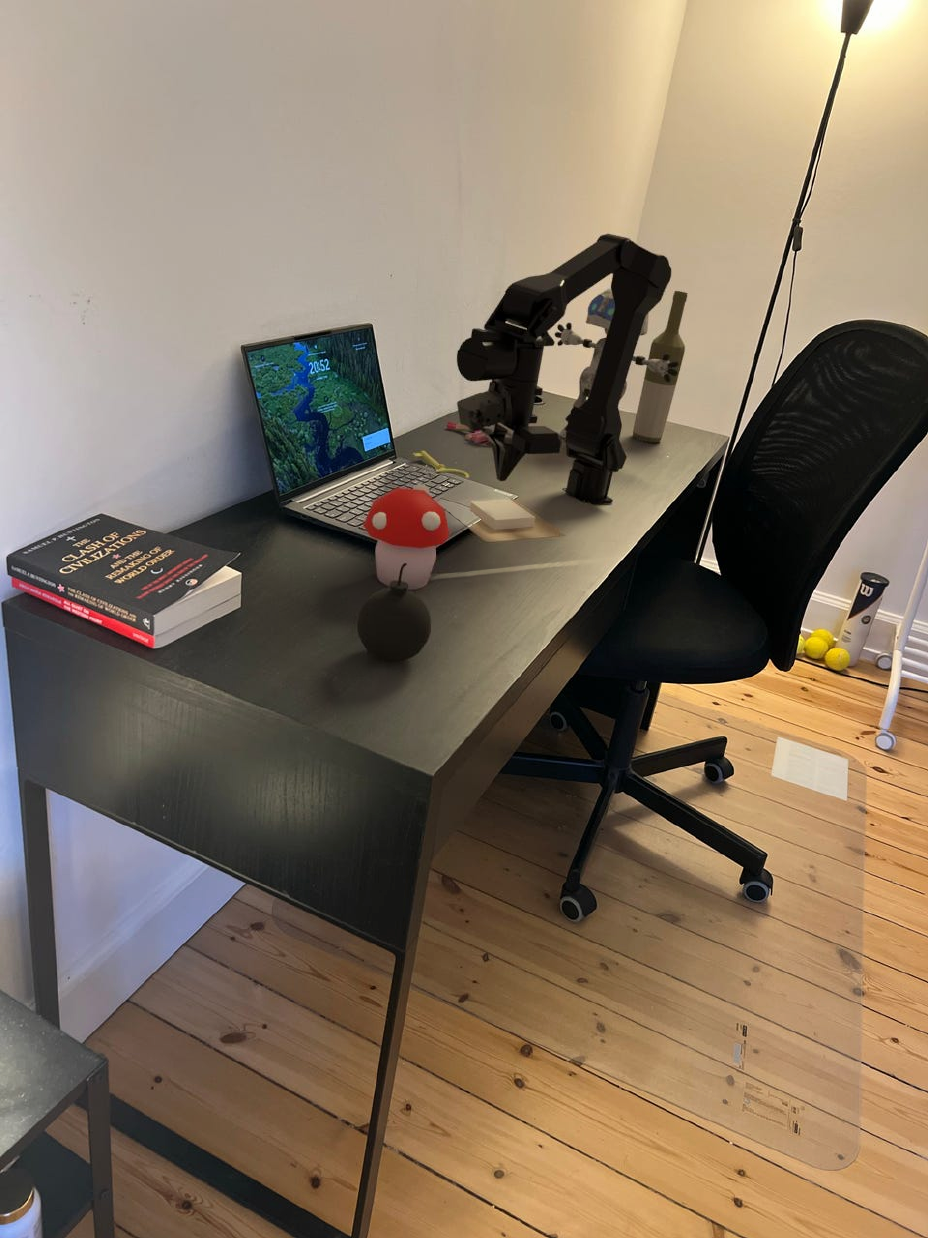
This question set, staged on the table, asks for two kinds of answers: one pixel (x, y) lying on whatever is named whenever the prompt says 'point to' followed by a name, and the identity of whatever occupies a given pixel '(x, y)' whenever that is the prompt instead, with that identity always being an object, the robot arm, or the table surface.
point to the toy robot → (601, 317)
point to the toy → (476, 434)
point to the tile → (502, 514)
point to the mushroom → (406, 534)
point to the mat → (516, 530)
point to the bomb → (394, 623)
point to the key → (433, 463)
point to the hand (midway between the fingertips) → (501, 480)
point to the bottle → (655, 387)
